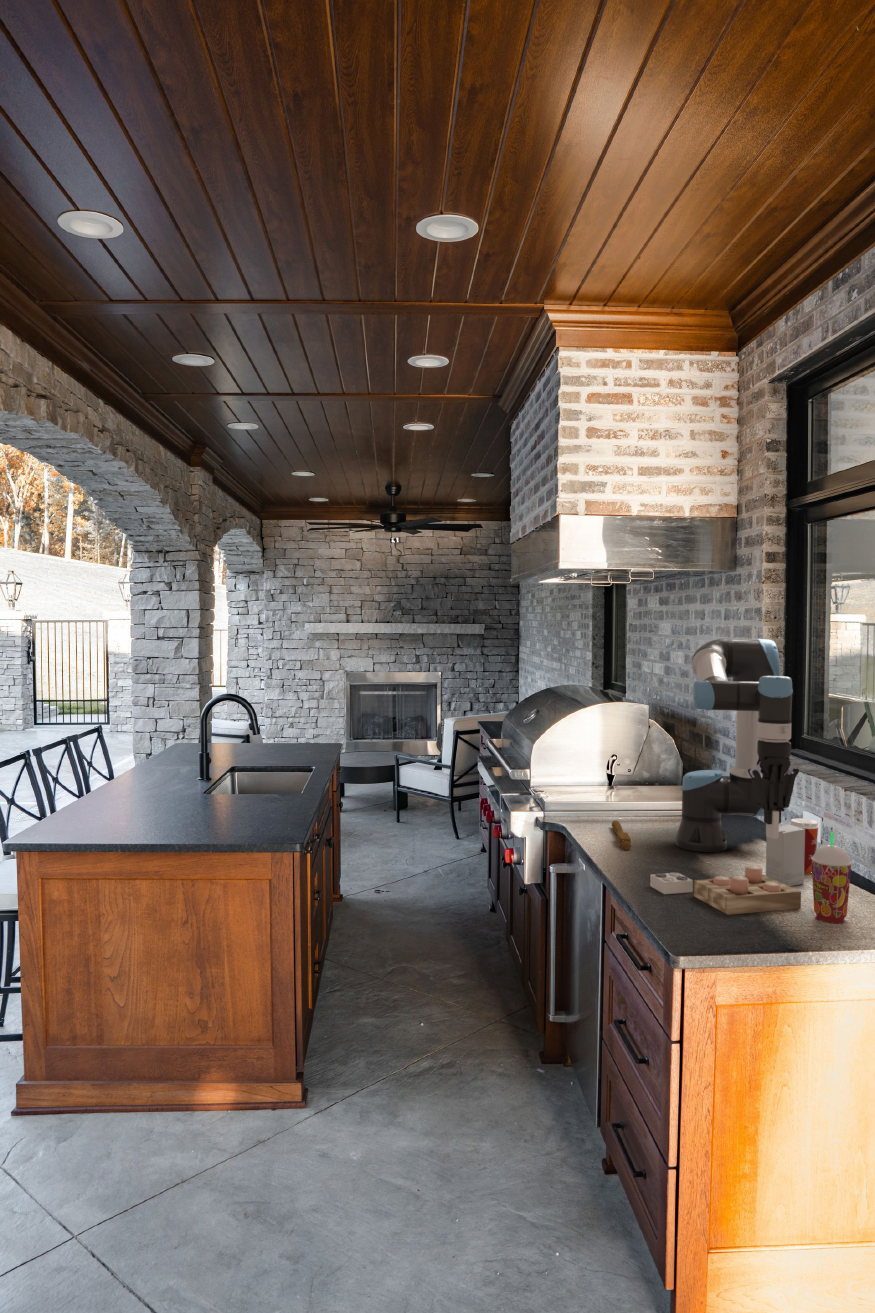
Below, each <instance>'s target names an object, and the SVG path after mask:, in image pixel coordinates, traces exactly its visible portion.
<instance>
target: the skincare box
mask: <svg viewBox="0 0 875 1313" xmlns="http://www.w3.org/2000/svg"><path fill="white" fill-rule="evenodd" d="M765 840H766V843H765V844H766V846H765V851H766V852H765V876H767V877H769V878H771V879H774V880H776V881H778V882H780V883H783V884H785V885H787V886H789V887H794V886H797V885H802V884H805V874H804V853H805V829H802V828H799V827H795V826H792V825H789V824H783V825H779V838H775V839H773V838H770V837H768V836H766V839H765Z"/></svg>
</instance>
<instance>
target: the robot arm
mask: <svg viewBox="0 0 875 1313" xmlns="http://www.w3.org/2000/svg"><path fill="white" fill-rule="evenodd" d="M778 650H779V649H778V647H777V644H776V642H775V641H774V640H773V639H767V638H766V639H764V638H718V639H713V640H710V641H708V642H706V643H704V644H702V645H701V646H700V647H698V648H697V649H696V651H695V652H694V653H693V655H692V658H691V668H692V671H693V673H694V674H695V676H697V680H695V681H694V682H693V688H692V701H693V702H692V704H693V707H694V708H695V709H696V710H705V711H735V712H736V725H735V726H736V727H735V728H736V729H735V730H736V731H735V756H734V757H735V762H734V764H735V765H734V766H733V767H731V768H730V769H729V775H724V774H723V773H722V770H719V769H718V770H717V769H715V770H714V769H705V770H704V769H703V770H702V769H701V770H695V771H690V772H686V773H685V774H684V775H683V777H682V784H681V792H682V793H681V794H682V795H681V797H682V798H681V821H680V824H679V825H678V829H677V832H676V834H675V842H674V843H675V846H677V847H678V848H680V849H682V850H688V851H693V852H698V853H699V852H700V853H717V852H718V853H719V852H723V851H725V850H727V847H728V846H727V838H726V835H725V831H724V829H723V825H722V815H733V816H735V815H736V816H748V817H749V816H750V817H763V822H764V824H765V836H766V837H767V836H768V837H770V838H773V839H775V838H779V826H780V824H781V823H782V812H784V811H785V810H786V808H787V809H788V808H789V807H790V805H791V804H790V803H791V800H792V795H793V790H794V786H795V781H796V778H797V777H798V775H799V773H800V769H799V768H796V767H794V766H792V764H791V760H790V757H791V756H792V743H791V741H790V740H791V739H792V713H793V712H792V706H793V694H794V689H793V681H792V680H793V679H792V677H789V676H784V675H781V662H780V655H779V651H778ZM728 678H729V679H730V678H731V679H732V680H729V679H728Z"/></svg>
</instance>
